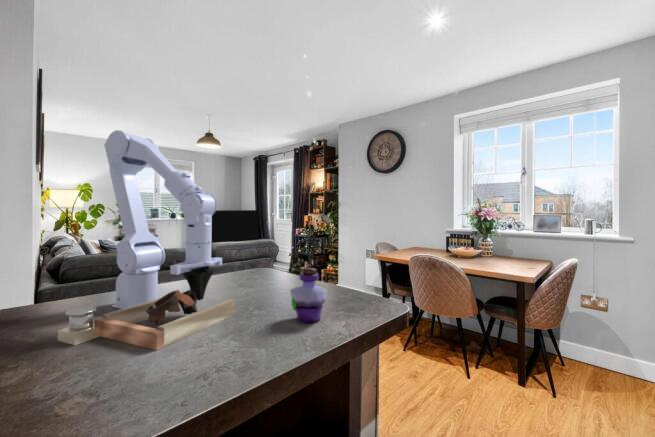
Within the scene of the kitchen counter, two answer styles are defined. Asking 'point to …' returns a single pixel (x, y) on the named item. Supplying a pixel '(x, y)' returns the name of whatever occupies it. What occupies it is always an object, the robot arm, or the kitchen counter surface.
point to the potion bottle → (308, 297)
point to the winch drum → (79, 326)
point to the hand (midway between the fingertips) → (198, 299)
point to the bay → (125, 329)
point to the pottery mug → (173, 305)
